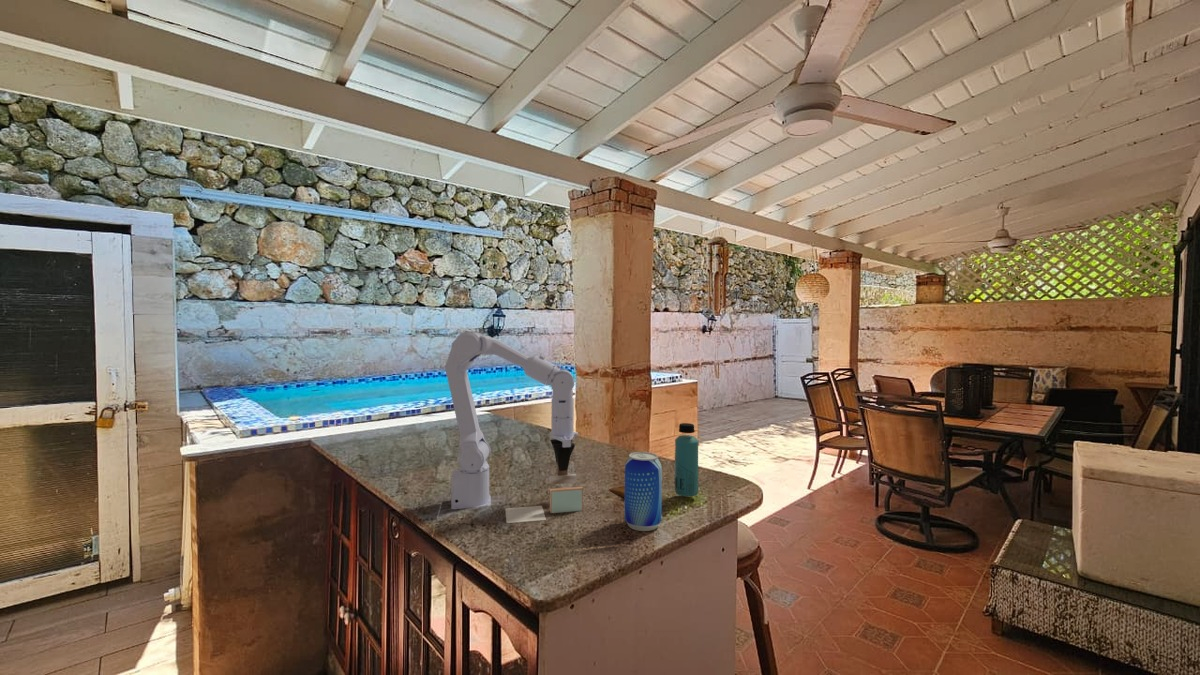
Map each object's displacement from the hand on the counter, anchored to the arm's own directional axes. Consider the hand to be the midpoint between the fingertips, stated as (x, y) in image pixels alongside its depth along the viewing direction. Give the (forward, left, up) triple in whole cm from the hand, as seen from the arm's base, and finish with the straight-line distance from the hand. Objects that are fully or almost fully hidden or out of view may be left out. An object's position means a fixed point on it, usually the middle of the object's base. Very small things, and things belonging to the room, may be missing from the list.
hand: (562, 468), depth 120 cm
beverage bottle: (+33, -4, -9) cm, 34 cm away
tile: (0, -7, -9) cm, 11 cm away
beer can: (+16, -18, -9) cm, 26 cm away
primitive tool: (+18, -1, -10) cm, 21 cm away
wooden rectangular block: (0, 0, -3) cm, 3 cm away
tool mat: (-10, -7, -9) cm, 15 cm away
